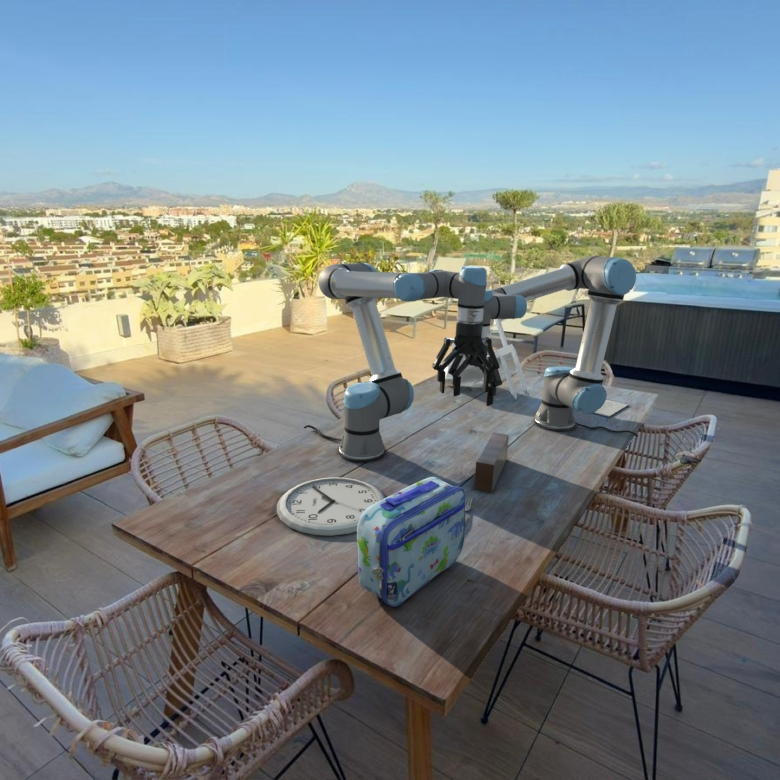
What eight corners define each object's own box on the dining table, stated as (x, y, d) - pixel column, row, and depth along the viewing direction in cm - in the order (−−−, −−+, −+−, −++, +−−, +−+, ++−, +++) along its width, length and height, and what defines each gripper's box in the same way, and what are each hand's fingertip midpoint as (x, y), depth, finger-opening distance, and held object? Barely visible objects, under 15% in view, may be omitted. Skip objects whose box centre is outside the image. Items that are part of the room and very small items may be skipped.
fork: (449, 531, 131) (450, 524, 131) (463, 501, 146) (463, 495, 145) (459, 533, 130) (460, 526, 130) (472, 503, 145) (473, 496, 144)
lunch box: (386, 620, 101) (388, 525, 95) (350, 593, 108) (349, 503, 102) (468, 563, 119) (474, 480, 112) (432, 543, 126) (436, 464, 120)
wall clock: (392, 527, 129) (268, 531, 127) (391, 533, 130) (269, 537, 127) (383, 473, 158) (282, 475, 155) (383, 478, 158) (282, 480, 156)
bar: (491, 456, 175) (493, 432, 172) (506, 459, 173) (508, 434, 170) (474, 489, 153) (476, 461, 150) (491, 492, 151) (494, 464, 148)
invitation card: (608, 416, 214) (573, 407, 224) (608, 416, 214) (573, 408, 224) (628, 404, 229) (594, 396, 238) (628, 405, 229) (594, 397, 238)
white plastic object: (461, 429, 252) (437, 405, 227) (444, 352, 274) (420, 323, 250) (535, 404, 240) (518, 377, 215) (510, 326, 262) (492, 293, 237)
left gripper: (430, 324, 145) (426, 396, 152) (515, 324, 149) (507, 394, 156) (424, 319, 152) (420, 388, 159) (505, 319, 156) (498, 386, 163)
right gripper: (440, 333, 175) (436, 393, 181) (503, 345, 158) (497, 412, 164) (454, 330, 180) (450, 389, 186) (517, 342, 163) (510, 406, 169)
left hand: (463, 391), depth 157 cm, fingers open, 13 cm apart
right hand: (472, 400), depth 175 cm, fingers open, 13 cm apart
